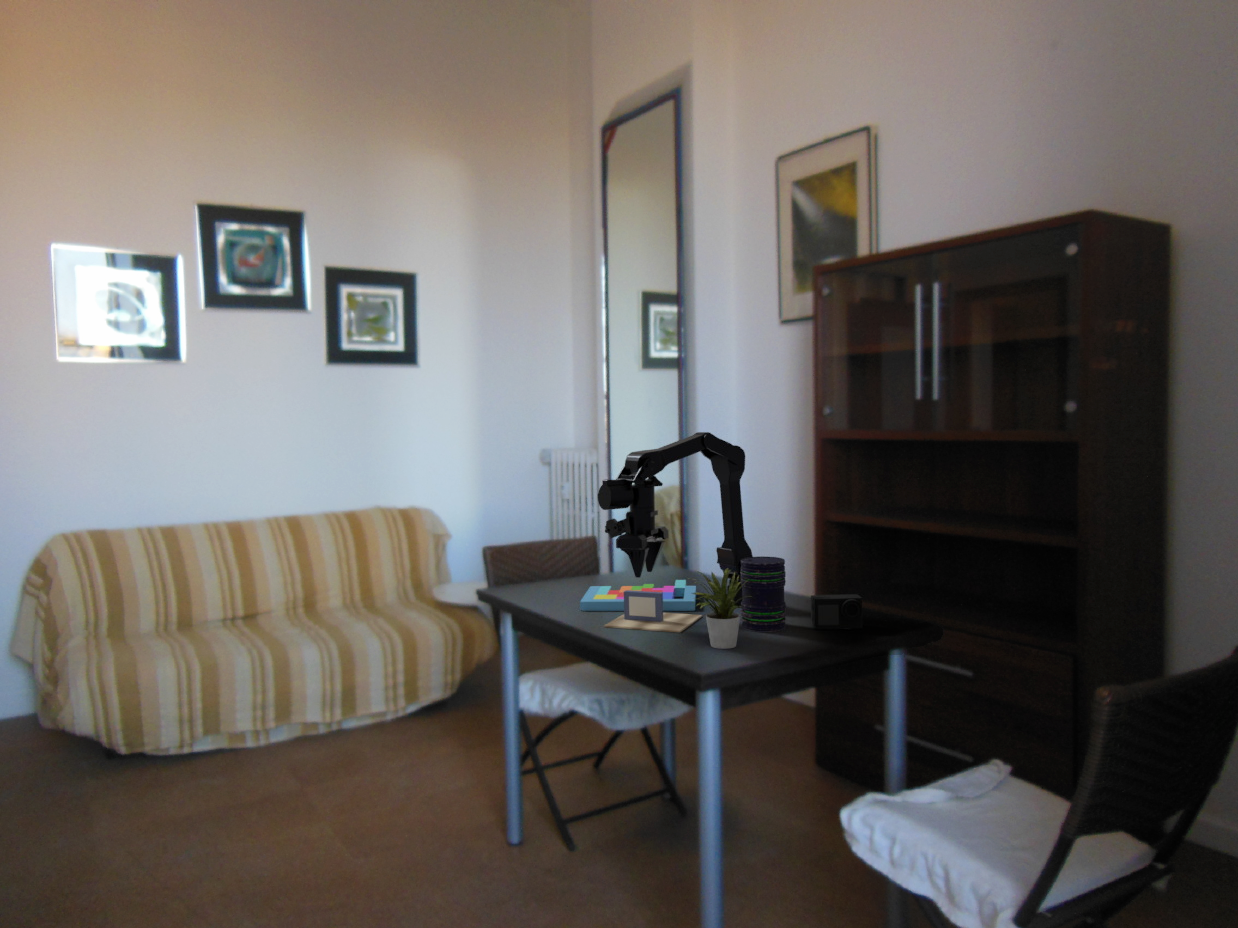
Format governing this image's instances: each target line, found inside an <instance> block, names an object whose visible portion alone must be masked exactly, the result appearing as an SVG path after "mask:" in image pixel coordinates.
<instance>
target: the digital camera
mask: <svg viewBox="0 0 1238 928" xmlns="http://www.w3.org/2000/svg"><path fill="white" fill-rule="evenodd" d="M863 609H864V608H863V597H862V596H860V595H858V593H857V594H855V593H852V594H817V595H816V594H815V595H810V622H811V623H810V624H811V625H812V626H813V627H814V628H815V629H844V628H862V629H863ZM812 626H811V627H812ZM813 627H812V628H813ZM814 628H813V629H814ZM815 629H814V630H815Z"/></svg>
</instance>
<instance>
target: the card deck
mask: <svg viewBox="0 0 1238 928" xmlns="http://www.w3.org/2000/svg"><path fill="white" fill-rule="evenodd" d="M663 613H664V611H663V592H649V591H631V590H626V591H624V611H623V614H624V619H626V620H641V621H655V622H662V621H663Z"/></svg>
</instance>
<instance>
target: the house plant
mask: <svg viewBox="0 0 1238 928" xmlns="http://www.w3.org/2000/svg"><path fill="white" fill-rule="evenodd" d="M731 570H732V569H731ZM731 570H729V571H731ZM729 571H728V568H727V569H726V570H725V572H724V573H723V576H722V578H721V579H722V580H721V584H720V582H719V580H718V578H717V576H716V575H715V574H714V573H713V572H712V571H711V577H712V580H711V579H710V578H708V577H707V576H706V575H705V574H704V573H702V572H700V571H696V570H695V572H696V573H699V574H700V575H702V577H703V578H705V579H704V580H706V582H707V584H708V585H709V586H707V587H706V584H705V583H703V582H702V581H700V583H699V580H698V579H695V578H692V580H695V581H697V582H695V581H694V582H691V583H696V584H699V585H700V586H701V587H703V589H704V590H705V591H706V592H707V593H706V592H700V591H697V590H696V593H692V594H695V595H696V596H697V595H698V596H699V597H696V598H692V599H696V600H700V599H701V602H697V604H695V608H696V607H697V606H700V607H699V610H701V609H702V608H704V607H705V606H708V608H709V609H711V611H712V612H709V613H707V614H705V621H706V625H707V631H708V636H709V638H708V639H709V643H710V646H711V647H712V648H715V649H720V650H724V649H725V650H727V649H732V648H735V647H737V643H738V642H737V641H738V635H739V627H740V620H741V614H740V613H737V612H734V611H735V610H736V609H737V608H740V610H742V609H741V606H734V605H735V603H736V602H737V601H738V600H740V599H742V598H744V597H752V596H744V597H742V598H740V599H738V600H737V601H736V602H735V601H733V599H734V597H735V595H736V594H737V592H738V591H739V589H740V588H741V587H742V586H743V585H744V584H745V583H746V582H747V581H748V580H747V581H746V582H744V583H743V584H742V586H741V587H740V588H739V589H738V590H737V587H738V586H739V584H740V583H741V582H738V579H739V575H738V577H737V579H736V581H735V583H734V579H735V572H734V574H733V577H732V580H731V584H730V587H729V590H728V594H727V586H728V581H729V579H728V574H729ZM686 579H688V580H689V577H688V578H686ZM686 579H685V580H686ZM733 583H734V586H733ZM732 586H733V587H732ZM736 590H737V591H736ZM709 591H710V592H711V593H712V594H711V593H710V592H709ZM702 599H704V600H705V601H704V600H702ZM732 601H733V602H732ZM731 603H732V604H731Z"/></svg>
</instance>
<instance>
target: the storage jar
mask: <svg viewBox="0 0 1238 928" xmlns="http://www.w3.org/2000/svg"><path fill="white" fill-rule="evenodd" d="M785 562H786V560H785V559H784V558H782V557H777V556H753V557H747V558H743V559H741V571H740V576H741V585H742V584H743V583H744V582H746V581H747V580H748V581H747V582H746V583H745V584H744V585H743V586H742V597H744V596H752V597H744V598H742V602H741V607H740V608H741V609H740V617H741V622H742V623H741V628H742V629H743V630H746V631H749V632H757V633H772V632H780V630H781V631H783V629H784V630H785V629H786V628H787V627H786V625H787V624H786V620H787V619H786V617H787V610H786V608H787V603H786V601H785V585H786V582H787V581H786V567H785V564H786V563H785Z"/></svg>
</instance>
